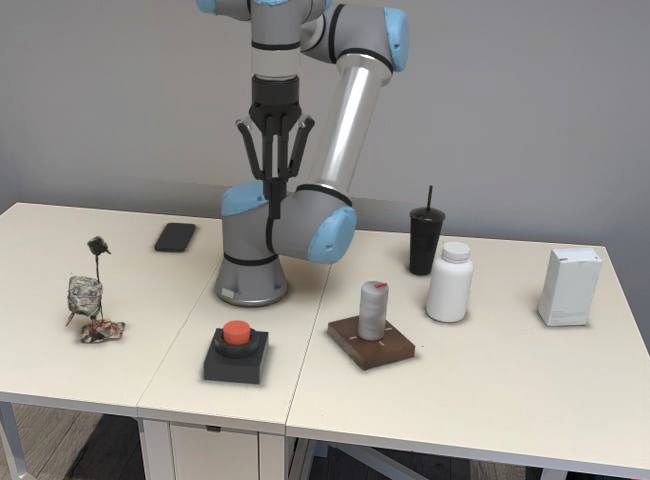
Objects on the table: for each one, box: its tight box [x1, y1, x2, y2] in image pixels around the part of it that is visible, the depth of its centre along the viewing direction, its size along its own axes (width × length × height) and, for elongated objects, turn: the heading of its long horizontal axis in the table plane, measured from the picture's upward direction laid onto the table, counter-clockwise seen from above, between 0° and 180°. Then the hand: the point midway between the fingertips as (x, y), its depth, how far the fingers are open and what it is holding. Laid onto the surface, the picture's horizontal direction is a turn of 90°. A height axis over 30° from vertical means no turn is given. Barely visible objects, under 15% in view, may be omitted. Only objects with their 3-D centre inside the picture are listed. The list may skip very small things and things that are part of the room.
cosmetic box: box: [538, 246, 603, 327], centre depth 151 cm, size 8×6×15 cm
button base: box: [203, 327, 270, 385], centre depth 139 cm, size 12×10×6 cm
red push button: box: [222, 319, 251, 345], centre depth 137 cm, size 5×5×2 cm
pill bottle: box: [426, 241, 475, 323], centre depth 152 cm, size 8×8×15 cm
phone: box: [153, 222, 197, 253], centre depth 185 cm, size 7×1×15 cm
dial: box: [358, 280, 390, 341], centre depth 142 cm, size 5×5×10 cm
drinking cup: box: [408, 185, 446, 277], centre depth 167 cm, size 8×8×20 cm
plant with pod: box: [64, 235, 126, 343], centre depth 144 cm, size 8×11×20 cm
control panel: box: [327, 314, 416, 371], centre depth 146 cm, size 14×11×3 cm
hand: (274, 216), depth 132 cm, fingers closed
